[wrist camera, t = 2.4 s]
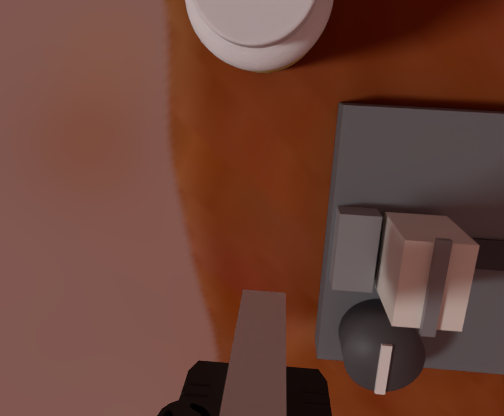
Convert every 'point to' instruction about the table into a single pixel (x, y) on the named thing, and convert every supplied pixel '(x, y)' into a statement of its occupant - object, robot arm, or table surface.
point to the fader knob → (425, 272)
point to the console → (414, 202)
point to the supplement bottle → (259, 30)
